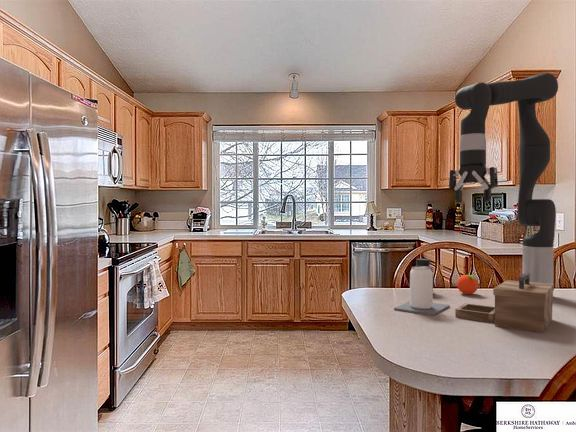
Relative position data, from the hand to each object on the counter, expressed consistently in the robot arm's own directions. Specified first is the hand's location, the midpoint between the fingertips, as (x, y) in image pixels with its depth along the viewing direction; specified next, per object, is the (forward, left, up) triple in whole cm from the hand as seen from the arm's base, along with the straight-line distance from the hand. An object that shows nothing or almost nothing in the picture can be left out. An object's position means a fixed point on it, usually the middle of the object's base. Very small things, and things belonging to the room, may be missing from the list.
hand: (472, 202), depth 136 cm
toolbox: (+13, +11, -32) cm, 36 cm away
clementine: (-18, -6, -32) cm, 37 cm away
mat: (+13, -11, -32) cm, 36 cm away
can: (+14, -11, -32) cm, 36 cm away
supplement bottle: (-12, -20, -32) cm, 40 cm away
